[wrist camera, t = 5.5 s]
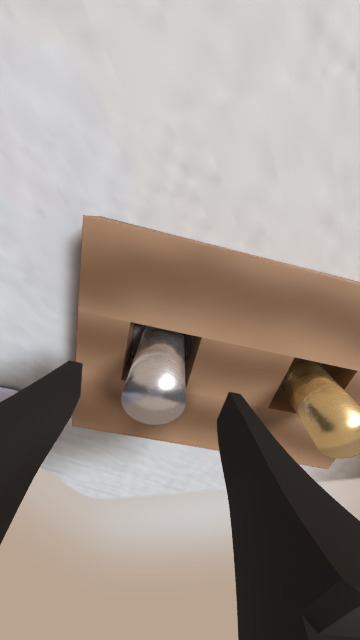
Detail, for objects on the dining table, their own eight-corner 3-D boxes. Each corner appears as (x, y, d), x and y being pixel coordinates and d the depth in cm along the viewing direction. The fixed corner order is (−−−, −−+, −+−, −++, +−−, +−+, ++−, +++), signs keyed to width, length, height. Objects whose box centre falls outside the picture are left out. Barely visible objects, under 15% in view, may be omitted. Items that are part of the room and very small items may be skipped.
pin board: (310, 440, 20) (327, 469, 17) (86, 400, 18) (72, 425, 16) (411, 295, 14) (455, 309, 12) (101, 216, 12) (83, 215, 10)
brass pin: (302, 386, 17) (358, 462, 12) (266, 378, 17) (306, 453, 12) (320, 354, 16) (392, 422, 11) (282, 346, 16) (335, 411, 10)
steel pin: (179, 359, 16) (179, 428, 11) (139, 353, 16) (118, 419, 11) (188, 323, 15) (191, 381, 10) (145, 316, 15) (124, 370, 10)
